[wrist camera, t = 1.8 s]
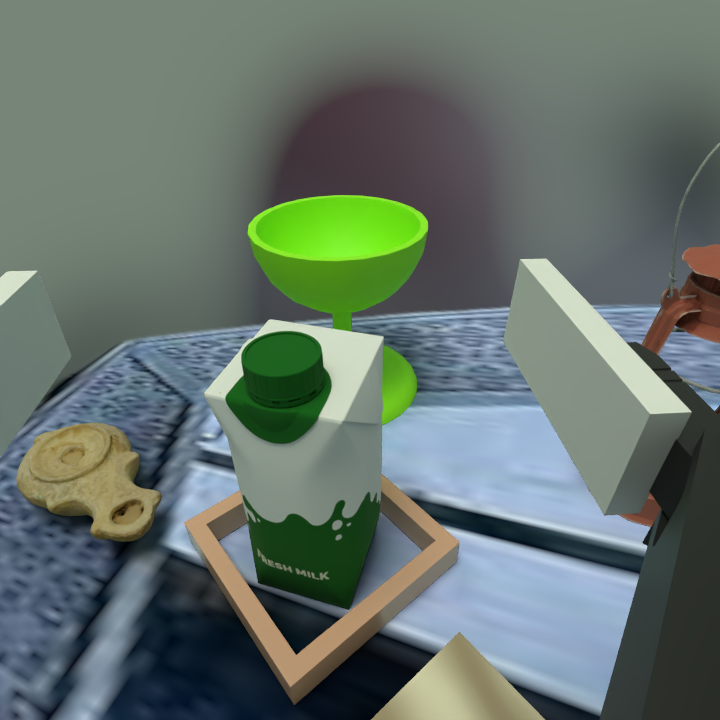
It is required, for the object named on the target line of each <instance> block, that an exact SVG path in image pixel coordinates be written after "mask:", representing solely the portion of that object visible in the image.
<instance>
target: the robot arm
mask: <svg viewBox="0 0 720 720" xmlns="http://www.w3.org/2000/svg"><path fill="white" fill-rule="evenodd" d="M503 342H504V343H505V345H506V347H507V349H508V350H509V352H510V354H511V355H512V357H513V359H514V361H515V362H516V364H517V366H518V368H519V369H520V371H521V373H522V374H523V376H524V378H525V380H526V381H527V383H528V385H529V387H530V388H531V390H532V392H533V393H534V395H535V397H536V399H537V400H538V402H539V404H540V405H541V407H542V409H543V411H544V412H545V414H546V416H547V418H548V419H549V421H550V423H551V424H552V426H553V428H554V430H555V431H556V433H557V435H558V437H559V438H560V440H561V442H562V443H563V445H564V447H565V449H566V450H567V452H568V454H569V455H570V457H571V459H572V461H573V462H574V464H575V466H576V468H577V469H578V471H579V473H580V474H581V476H582V478H583V480H584V481H585V483H586V485H587V487H588V488H589V490H590V492H591V493H592V495H593V497H594V499H595V500H596V502H597V504H598V505H599V507H600V509H601V511H602V512H603V514H604V515H618V514H635V513H640V512H641V510H642V508H643V506H644V504H645V502H646V500H647V498H648V496H649V494H650V493H651V495H652V496H653V497H654V499H655V500H656V502H657V503H658V505H659V506H660V507H661V510H660V512H659V514H658V515H657V517H656V519H655V521H654V523H653V525H652V526H651V528H650V530H649V532H648V534H647V535H646V537H645V539H644V541H643V544H645V545H647V546H648V547H647V551H646V554H645V558H644V561H643V565H642V569H641V572H640V576H639V579H638V583H637V587H636V590H635V594H634V597H633V601H632V605H631V608H630V612H629V615H628V619H627V623H626V626H625V630H624V633H623V637H622V641H621V644H620V648H619V651H618V655H617V659H616V662H615V666H614V669H613V673H612V676H611V680H610V684H609V687H608V691H607V694H606V698H605V702H604V705H603V709H602V712H601V716H600V720H720V416H719V415H718V414H717V413H716V412H715V411H714V410H713V409H712V408H711V407H710V406H709V405H708V404H707V403H706V402H705V401H704V400H703V399H702V398H701V397H700V396H699V395H698V394H697V393H696V392H695V391H694V390H693V389H692V388H691V387H690V386H689V385H688V384H687V383H685V382H682V379H681V378H680V377H679V376H678V375H677V374H676V373H675V372H674V371H671V368H670V367H669V366H668V365H667V364H666V363H665V362H664V361H663V360H662V359H661V358H660V357H659V356H658V355H657V354H656V353H654V352H652V351H651V350H649V349H647V348H645V347H644V346H642V345H640V344H639V343H637V342H631V343H626V342H625V341H624V340H623V339H622V338H621V337H620V336H619V335H618V334H617V333H616V332H615V330H614V329H613V328H612V327H611V326H610V325H609V324H608V323H607V322H606V321H605V320H604V319H603V318H602V317H601V316H600V315H599V314H598V313H597V312H596V310H595V309H594V308H593V307H592V306H591V305H590V304H589V303H588V302H587V301H586V300H585V299H584V298H583V297H582V296H581V295H580V294H579V293H578V292H577V291H576V289H575V288H574V287H573V286H572V285H571V284H570V283H569V282H568V281H567V280H566V279H565V278H564V277H563V276H562V275H561V274H560V273H559V272H558V270H557V269H556V268H555V267H554V266H553V265H552V264H551V263H550V262H549V261H548V260H547V259H521V260H520V263H519V268H518V273H517V278H516V282H515V287H514V292H513V297H512V301H511V306H510V311H509V316H508V321H507V326H506V330H505V335H504V340H503ZM70 358H71V354H70V352H69V349H68V347H67V344H66V342H65V339H64V336H63V334H62V331H61V329H60V326H59V324H58V321H57V319H56V316H55V314H54V311H53V308H52V306H51V303H50V301H49V298H48V296H47V293H46V291H45V288H44V286H43V283H42V281H41V278H40V275H39V273H38V271H10V272H7V273H5V274H4V275H3V276H2V277H1V278H0V458H1V456H2V455H3V453H4V452H5V451H6V449H7V448H8V446H9V445H10V443H11V442H12V441H13V439H14V438H15V436H16V435H17V433H18V432H19V431H20V429H21V428H22V426H23V425H24V423H25V422H26V421H27V419H28V418H29V416H30V415H31V413H32V412H33V411H34V409H35V408H36V406H37V405H38V403H39V402H40V401H41V399H42V398H43V396H44V395H45V393H46V392H47V391H48V389H49V388H50V386H51V385H52V383H53V382H54V381H55V379H56V378H57V376H58V375H59V373H60V372H61V371H62V369H63V367H64V366H65V365H66V363H67V362H68V361H69V359H70Z"/></svg>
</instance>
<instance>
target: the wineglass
mask: <svg viewBox="0 0 720 720" xmlns="http://www.w3.org/2000/svg"><path fill="white" fill-rule="evenodd" d="M427 232H428V221H427V220H426V218H425V217H424V216H423V214H422V213H420V212H418V211H417V210H415V209H414V208H412V207H410V206H407V205H405V204H402V203H399V202H396V201H392V200H386V199H382V198H376V197H367V196H351V195H348V196H347V195H337V196H319V197H314V198H306V199H299V200H296V201H291V202H287V203H284V204H280V205H278V206H275V207H272V208H270V209H267V210H265V211H264V212H262V213H261V214H259V215H257V216H256V217H255V218H254V219H253V220H252V222H251V223H250V224H249V226H248V236H249V240H250V243H251V247H252V250H253V254H254V256H255V258H256V259H257V261H258V263H259V264H260V266H261V268H262V269H263V271H264V272H265V274H266V275H267V277H268V279H269V280H270V282H271V283H272V284H273V285H274V286H275V287H277V288H278V289H279V290H280V291H281V292H282V293H284V294H285V295H286V296H287V297H289V298H290V299H292V300H293V301H294V302H297V303H299V304H302V305H304V306H307V307H310V308H312V309H315V310H318V311H322V312H327V313H332V314H333V329H337V330H344V331H350V332H352V317H351V312H356V311H360V310H364V309H366V308H368V307H371V306H373V305H375V304H377V303H380V302H382V301H384V300H386V299H387V298H388V297H390V296H391V295H393V294H394V293H395V292H396V291H397V290H398V289H399V288H400V287H401V286H402V285H403V284H404V283H405V282H406V281H407V280H408V278H409V277H410V275H411V274H412V272H413V271H414V269H415V267H416V265H417V263H418V262H419V260H420V258H421V256H422V254H423V251H424V246H425V241H426V236H427ZM416 393H417V378H416V376H415V373H414V371H413V368H412V366H411V365H410V364H409V363H408V362H407V360H406V359H405V358H404V357H403V356H402V355H401V354H399V353H397V352H396V351H394V350H393V349H391V348H390V347H387V346H385V345H383V372H382V399H383V412H382V425H384V424H386V423H388V422H390V421H391V420H393V419H395V418H397V417H398V416H400V415H401V414H402V413H403V412H404V411H405V410H406V409H407V408H408V407H409V406H410V405H411V404H412V401H413V399H414V397H415V395H416Z"/></svg>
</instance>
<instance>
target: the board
mask: <svg viewBox="0 0 720 720" xmlns="http://www.w3.org/2000/svg"><path fill="white" fill-rule="evenodd" d="M371 720H545V719H544V718H543V717H542V716H541V715H540V714H539V713H538V712H537V711H536V710H535V709H534V708H533V707H532V706H531V705H530V704H529V703H528V702H527V701H526V700H525V699H524V698H523V697H522V696H521V695H520V694H519V693H518V692H517V691H516V689H515V688H514V687H513V686H512V685H511V684H510V683H509V682H508V681H507V680H506V679H505V678H504V677H503V676H502V675H501V674H500V673H499V672H498V671H497V670H496V669H495V668H494V667H493V666H492V665H491V664H490V663H489V662H488V661H487V660H486V659H485V658H484V657H483V656H482V655H481V654H480V653H479V652H478V650H477V649H476V648H475V647H474V646H473V645H472V644H471V643H470V642H469V641H468V640H467V639H466V638H465V637H464V636H463V635H462V634H461V633H460V632H459V633H458V634H457V635H456V636H455V637H454V638H453V639H452V640H451V641H450V642H449V643H448V644H447V645H446V646H445V647H444V648H443V649H442V650H441V651H440V652H439V653H438V654H437V655H436V656H435V657H434V658H433V659H432V660H431V661H430V662H429V663H428V664H427V665H426V666H425V667H424V668H423V669H422V670H421V671H420V672H419V673H418V674H417V675H416V676H415V677H414V678H413V679H412V680H410V681H409V682H408V683H407V684H406V685H405V686H404V687H403V688H402V689H401V690H400V691H399V692H398V693H397V694H396V695H395V696H394V697H393V698H392V699H391V700H390V701H389V702H388V703H387V704H386V705H385V706H384V707H383V708H382V709H381V710H380V711H379V712H378V713H377V714H376V715H375V716H374V717H373V718H372V719H371Z"/></svg>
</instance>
